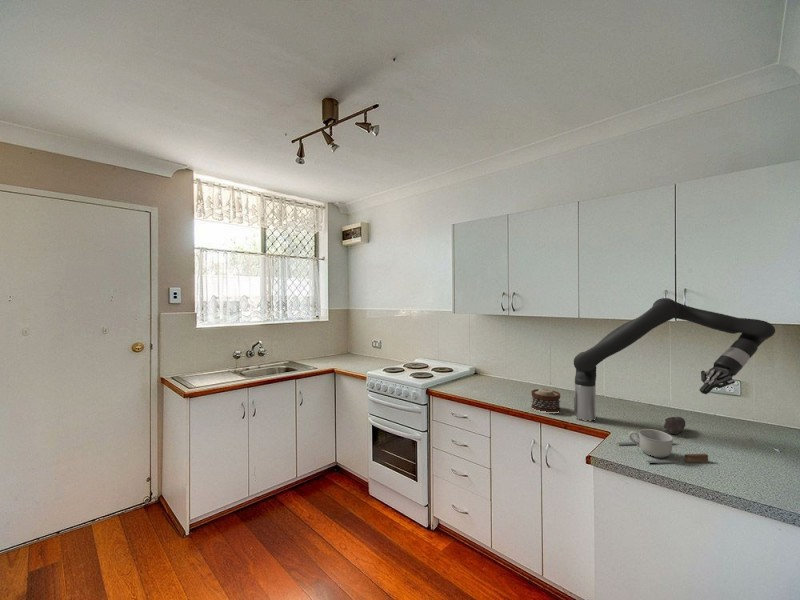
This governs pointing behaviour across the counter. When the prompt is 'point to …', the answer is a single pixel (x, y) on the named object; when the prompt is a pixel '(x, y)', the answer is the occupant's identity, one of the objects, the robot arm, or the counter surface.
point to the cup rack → (696, 458)
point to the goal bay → (651, 460)
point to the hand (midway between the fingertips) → (702, 392)
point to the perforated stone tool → (674, 425)
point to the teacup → (653, 442)
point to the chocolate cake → (545, 400)
